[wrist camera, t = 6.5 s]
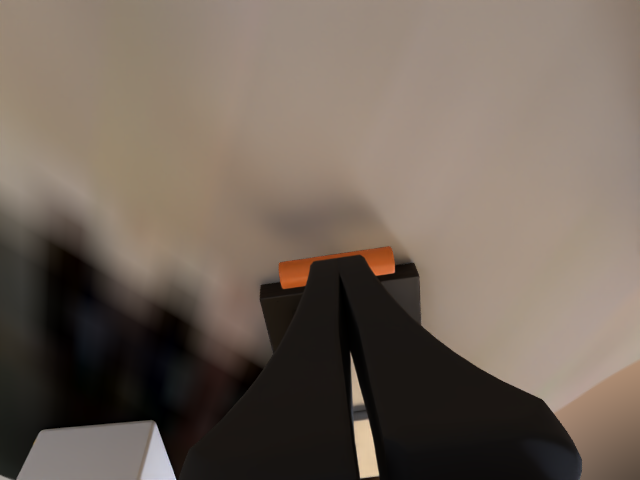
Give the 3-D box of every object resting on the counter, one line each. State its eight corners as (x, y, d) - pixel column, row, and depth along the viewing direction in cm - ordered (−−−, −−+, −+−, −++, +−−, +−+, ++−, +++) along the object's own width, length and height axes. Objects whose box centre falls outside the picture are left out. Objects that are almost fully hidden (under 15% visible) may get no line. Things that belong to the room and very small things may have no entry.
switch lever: (280, 257, 23) (276, 268, 21) (387, 242, 23) (395, 251, 21) (312, 454, 25) (311, 485, 22) (413, 440, 25) (423, 470, 22)
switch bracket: (260, 284, 26) (251, 406, 19) (414, 262, 26) (459, 377, 19) (292, 412, 31) (293, 542, 24) (419, 394, 31) (456, 520, 24)
